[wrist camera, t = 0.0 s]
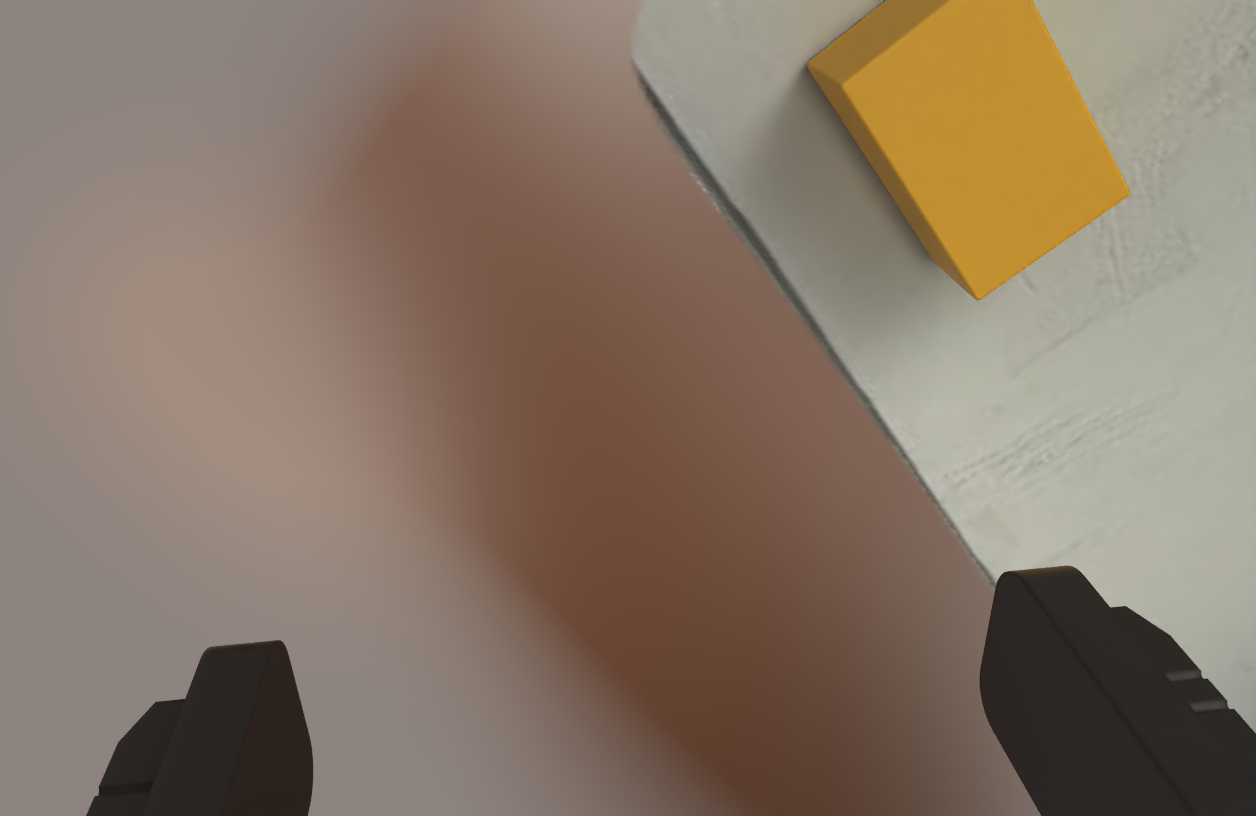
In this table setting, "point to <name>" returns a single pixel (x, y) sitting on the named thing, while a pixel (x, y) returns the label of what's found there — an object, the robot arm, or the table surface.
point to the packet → (971, 131)
